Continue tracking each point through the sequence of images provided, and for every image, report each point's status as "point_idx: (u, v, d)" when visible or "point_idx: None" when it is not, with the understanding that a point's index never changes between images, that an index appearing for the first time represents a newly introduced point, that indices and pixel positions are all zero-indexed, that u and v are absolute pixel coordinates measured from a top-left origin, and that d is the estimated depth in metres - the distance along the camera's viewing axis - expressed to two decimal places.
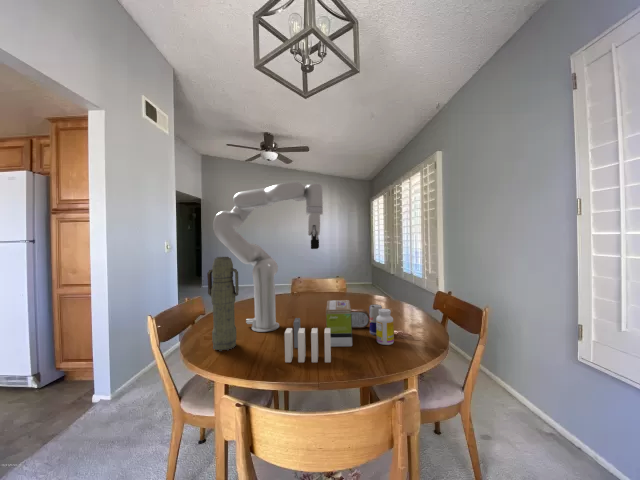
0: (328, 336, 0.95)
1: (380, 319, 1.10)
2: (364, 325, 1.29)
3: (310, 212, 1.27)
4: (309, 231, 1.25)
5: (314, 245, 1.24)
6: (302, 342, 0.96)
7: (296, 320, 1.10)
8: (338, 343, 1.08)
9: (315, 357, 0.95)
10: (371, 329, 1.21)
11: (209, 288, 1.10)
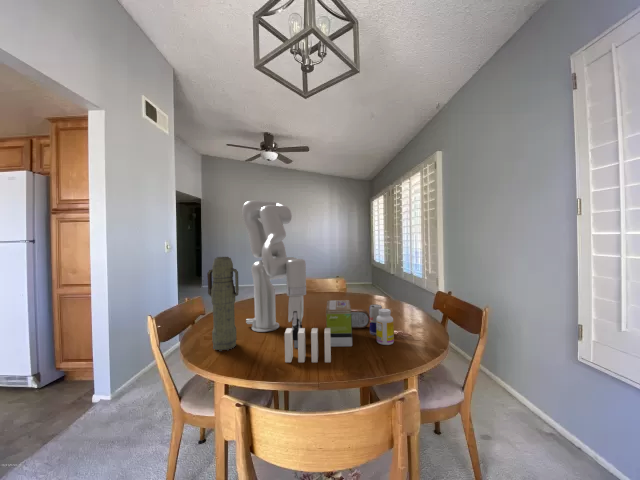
0: (328, 336, 0.95)
1: (380, 319, 1.10)
2: (364, 325, 1.29)
3: (291, 294, 1.07)
4: (289, 318, 1.05)
5: (296, 336, 1.06)
6: (302, 342, 0.96)
7: None
8: (338, 343, 1.08)
9: (315, 357, 0.95)
10: (371, 329, 1.21)
11: (209, 288, 1.10)
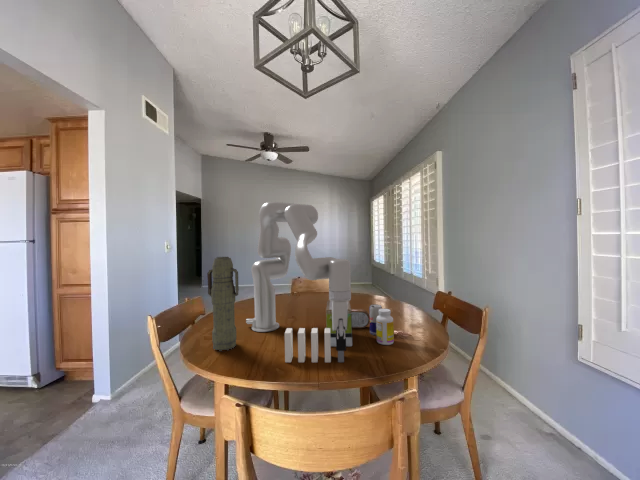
0: (328, 336, 0.95)
1: (380, 319, 1.10)
2: (364, 325, 1.29)
3: (335, 299, 0.94)
4: (334, 326, 0.93)
5: (341, 346, 0.92)
6: (302, 342, 0.96)
7: None
8: None
9: (315, 357, 0.95)
10: (371, 329, 1.21)
11: (209, 288, 1.10)
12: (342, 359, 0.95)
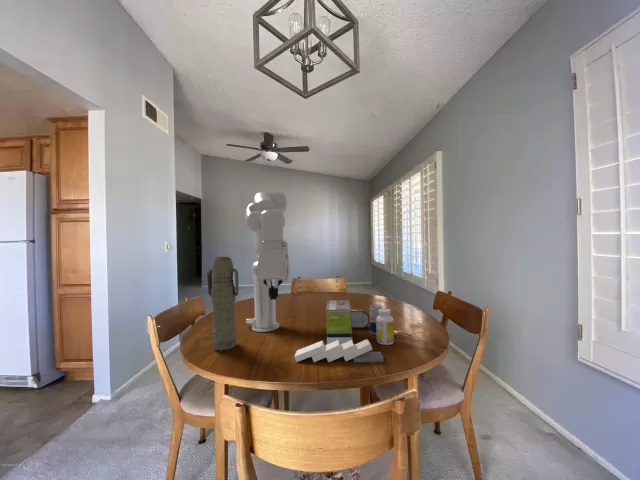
0: (368, 349, 0.96)
1: (380, 319, 1.10)
2: (364, 325, 1.29)
3: None
4: None
5: (269, 294, 0.98)
6: (331, 353, 0.95)
7: None
8: None
9: (332, 358, 0.95)
10: (371, 329, 1.21)
11: (209, 288, 1.10)
12: None
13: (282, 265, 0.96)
